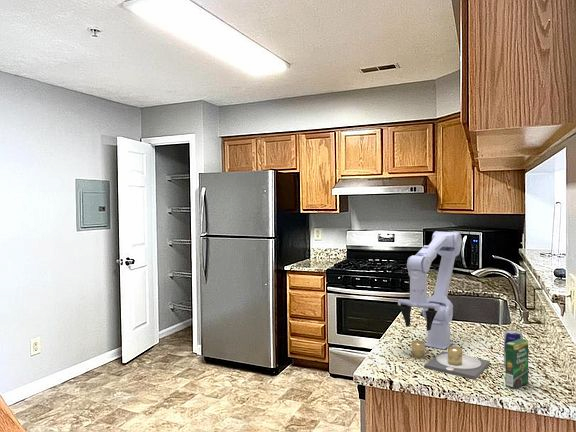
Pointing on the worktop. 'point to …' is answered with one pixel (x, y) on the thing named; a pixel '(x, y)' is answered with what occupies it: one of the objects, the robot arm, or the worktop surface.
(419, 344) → the tan rounded cylinder
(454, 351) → the golden domed cylinder
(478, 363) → the kitchen scale
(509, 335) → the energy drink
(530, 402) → the worktop surface
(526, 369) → the green carton
